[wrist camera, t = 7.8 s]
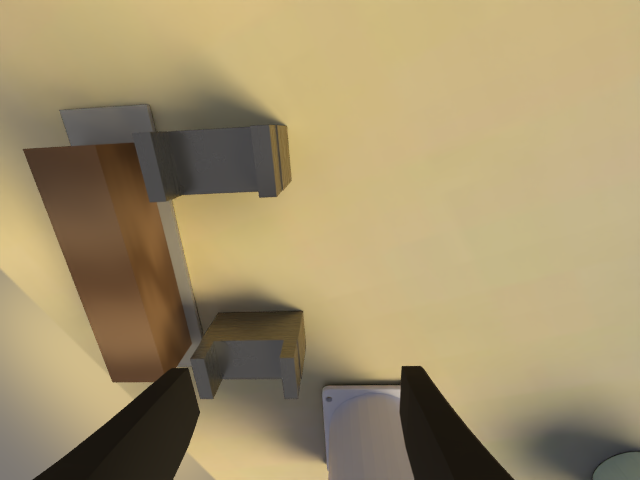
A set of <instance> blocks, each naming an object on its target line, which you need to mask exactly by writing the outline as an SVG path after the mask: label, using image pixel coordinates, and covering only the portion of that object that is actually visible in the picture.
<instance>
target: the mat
mask: <svg viewBox="0 0 640 480" xmlns="http://www.w3.org/2000/svg"><path fill="white" fill-rule="evenodd" d="M59 111H60V114H61V117H62V120H63V123H64V126H65V129H66V132H67V135H68V138H69V141H70V144H71V146H81V145H98V144H116V143H133V142H134V140H133V136H132V133H139V132H156V130H155V126H154V122H153V117H152V113H151V109H150V105H147V104H146V105H130V106H115V107H100V108H84V109H69V110H59ZM157 205H158V209H159V213H160V217H161V221H162V225H163V229H164V233H165V237H166V241H167V245H168V249H169V253H170V257H171V261H172V265H173V269H174V273H175V277H176V281H177V285H178V289H179V293H180V297H181V301H182V305H183V309H184V313H185V317H186V321H187V325H188V329H189V333H190V337H191V341H192V345H191V346H190V348H189V349H188V351H187V352H186V354H185V355H184V357H183V358H182V360H181V361H180V363H179V364H178V366H177V367H192V365H191V361H190V358H191V357H192V355H193V353H194V352H195V350H196V349H197V347H198V345H199V344H200V342H201V339H202V338H203V334H202V329H201V325H200V321H199V316H198V312H197V308H196V303H195V299H194V295H193V290H192V286H191V282H190V277H189V273H188V269H187V264H186V260H185V256H184V251H183V247H182V243H181V238H180V234H179V230H178V226H177V221H176V217H175V213H174V208H173V204H172V200H169V201H167V202H157Z"/></svg>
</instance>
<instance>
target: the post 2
mask: <svg viewBox="0 0 640 480" xmlns="http://www.w3.org/2000/svg"><path fill="white" fill-rule="evenodd" d="M305 349H306V342H305V330H304V319H303V311H281V312H231V313H218V314H217V316H216V317H215V319H214V321H213V322H212V324H211V325H210V327H209V328H208V330H207V332H206V333H205V335H204V336H203V338H202V339H201V342H200V344H199V345H198V347H197V349H196V350H195V352H194V353H193V355H192V357H191V358H190V361H191V365H192V368H193V372H194V376H195V380H196V384H197V388H198V392H199V396H200V399H214V396H215V394H216V392H217V390H218V387H219V385H220V383H221V381H222V379H282V382H283V390H284V397H285V399H298V396H299V389H300V381H301V379H302V372H303V364H304V357H305Z"/></svg>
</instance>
